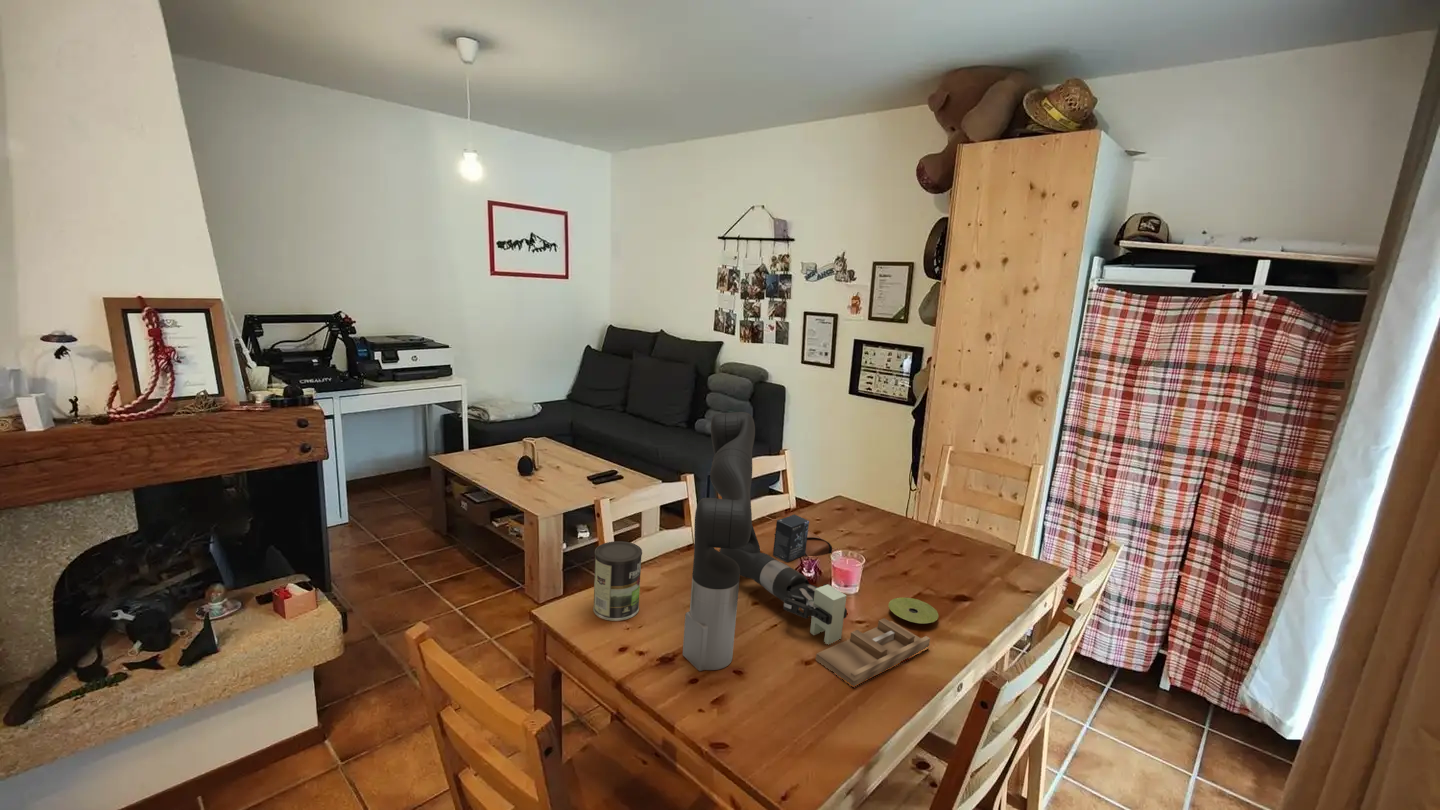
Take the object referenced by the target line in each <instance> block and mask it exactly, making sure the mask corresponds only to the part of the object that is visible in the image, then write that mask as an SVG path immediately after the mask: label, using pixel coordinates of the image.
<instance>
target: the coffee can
mask: <svg viewBox="0 0 1440 810" xmlns="http://www.w3.org/2000/svg"><path fill="white" fill-rule="evenodd" d="M642 556H643V550H642V548H641V547H640V545H637V544H635V543H633V542H629V541H624V540H623V541H622V540H619V541H618V540H617V541H608V542H605V543H602V544H599V545H598V546H597V547H596V548H595V550H594V585H593V588H594V589H593V608H592V609H593V613H594V615H596V617H597V618H600V619H602V620H605V621H612V622H619V621H621V622H623V621H626V620H629V619H632V618H634V617H635V616H636V615H637V614H638V613H639V611H640V589H641V572H642V571H641V569H642V565H641V564H642Z"/></svg>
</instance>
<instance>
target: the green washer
mask: <svg viewBox="0 0 1440 810" xmlns="http://www.w3.org/2000/svg"><path fill="white" fill-rule="evenodd" d="M888 609H889V610H890V611H891V612H892V613H893V614H894V615H895V616H897V617H899V618H900V619H903V620H905V621H908V622H910V623H915V624H922V625H923V624H924V625H925V624H931V623H935V622H936V621H937V620H938V619H939V613H938V610H937V609H936V608H934V607H933V606H932V605H930V604H929V603H927V602H925V601H923V600H920V599H916V598H912V597H897V598H896V597H895V598H893V599H891V600H890V601H889V602H888Z"/></svg>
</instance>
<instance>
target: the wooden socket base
mask: <svg viewBox="0 0 1440 810" xmlns="http://www.w3.org/2000/svg"><path fill="white" fill-rule="evenodd" d="M930 641H931V638H930V637H929V636H927V635H924V636H923V637H919V636H918V635H916V634H914V633H913V632H912V631H909V630H908V629H907V628H905V627H903V626H902V625H900V624H898V623H896V622H894V621H893V620H888V619H887V618H886V617H883V618H881V619H879V620H878V622H877V626H876V627H874V628H871V629H869V630H867V631H865V632H862V631H860V630H859V629H855V630H853V631H851V632H850V637H849V638H848V639H846V640H844V641H842V642H840V643H837V644H835V645H833V646H830V647H828V648H826V649H823V650H821V651H819V652H816V654H815V661H816V662H817V663H819V664H820V663H821V665H822V666H823V665H824V666H825V667H824V666H823V667H824V668H826V669H827V668H828V669H829V670H828V669H827V670H828V671H830V670H831V671H833V672H834V673H836V674H837V675H838V676H840V677H841V678H843V679H844V680H846V681H847V682H849V683H850V684H851V685H853V686H855V685H857V684H859V683H861V682H863V681H865V680H866V679H869V678H870V677H873V676H874V675H877V674H879V673H880V672H883V671H885V670H886V669H888V668H890V667H892V666H894V665H896V664H898V663H900V662H901V661H903V660H905V659H907V658H909V657H910V656H912V655H914V654H916V653H918V652H919V651H921V650H923V649H925V648H926V647H928V646H929V647H930ZM831 671H830V672H831ZM834 673H833V674H834ZM838 676H837V677H838Z"/></svg>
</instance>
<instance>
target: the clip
mask: <svg viewBox="0 0 1440 810" xmlns="http://www.w3.org/2000/svg"><path fill="white" fill-rule="evenodd" d="M846 602H847V595H846V594H845V593H843V592H842V591H840V590H838V589H836V588H835V587H833V586H831V584H827V585H825V586H819V587H817V588H816V589H815V594H814V603H815V604H816V605H817V606H818V607H820V608H822V609H823V610H825V611H826V612H828V613H829V614H831V615H832V623H831V624H829V625H827V624H826V623H824V622H822V621H821V620H819V619H818V618H813V617H811V619H810V620H811V621H810V622H811V623H810V630H809V633H810V634H811V635H813V636H816V635H818V634H820V632H821V633H823V632H824V639H823V643H824V642H825V643H824V644H826V645H827V644H828V645H827V646H829V644H830V645H832V644H834V643H836V642H835V641H837V640H839V639H841V640H842V634H843V627H844V619H845V618H844V611H845V608H846ZM843 618H844V619H843ZM839 641H840V640H839ZM833 642H834V643H833ZM837 642H838V641H837ZM831 643H832V644H831Z"/></svg>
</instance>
